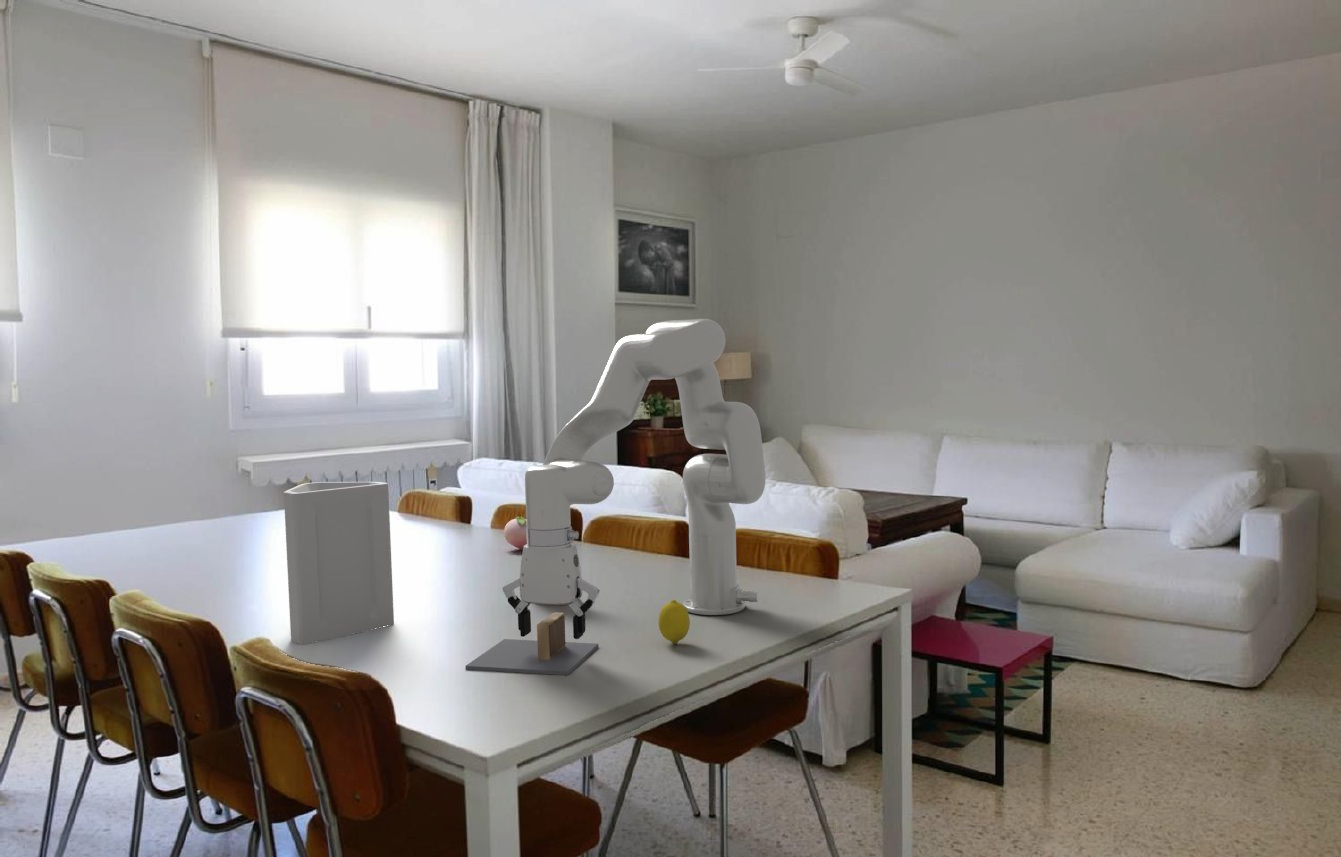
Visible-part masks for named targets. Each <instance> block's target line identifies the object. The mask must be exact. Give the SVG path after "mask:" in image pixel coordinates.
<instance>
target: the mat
mask: <svg viewBox="0 0 1341 857" xmlns="http://www.w3.org/2000/svg"><path fill="white" fill-rule="evenodd" d="M598 648H599V643H595V642H594V643H593V642H577V641H576V642H575V641H574V642H573V641H572V642H571V641H565V647H564V648H563V649H561V650H560V651H559V652H558V653H557V654H556V655H554V656H553V657H552V658H551V659H550V660H542V659H538V642H537V640H534V639H533V640H531V639H529V640H528V639H511V638H510V639H509V638H503V639H502V640H501V641H499V642H498V643H497V644H495V645H493V646H492V647H490V648H489V649H487V650H486V651H485V652H483V653H481V654H480V655H479V656H478V657H476V658H475V659H473V660H472V661H470V662H468V663H467V664H466V665H465V670H468V671H469V670H471V671H486V672H487V671H488V672H490V671H491V672H506V673H522V674H537V675H538V674H539V675H540V674H541V675H554V676H556V675H559V676H569V675H570V674H571V673H572V672H573V671H574V670H575V669H576V668H577V667H579V666H580V664H582V663H583V662H584V661H585V660H586V659H587V658H588V657H589V656H590V655H591V654H592V653H594V652H595V651H596V650H597V649H598Z"/></svg>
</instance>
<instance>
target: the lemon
mask: <svg viewBox="0 0 1341 857" xmlns="http://www.w3.org/2000/svg"><path fill="white" fill-rule="evenodd" d="M690 622H691V621H690V615H689V612H688V611H687V609H686V608H685V606H684V605H683V603H681V602H679V601H677V600H676V599H672V600H671V601H669V602H667V603H665V604H664V605H663V606H662V608H661V609H660V612H659V615H658V630H659V632H660V634H661V635H662V637H663V638H664V639H665V640H667V641H670V643H672V645H677V644H678V642H679V641H681V640H683V639H684V638H685V637H686V636H687V635H688V632H689V631H690V625H691V624H690Z"/></svg>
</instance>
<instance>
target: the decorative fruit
mask: <svg viewBox="0 0 1341 857" xmlns="http://www.w3.org/2000/svg"><path fill="white" fill-rule="evenodd" d="M503 536H504V538H505V540H506V542H507V543H508V544H510V545H511V546H512V547H515V548H516V549H519V551H523V548H524V546H525V545H526V544H527V524H526V518H525V517H523V516H521V513H520V514H519V516H515V518H513V519H510V520H509V521H508V522H507V523H506V525H504V528H503Z"/></svg>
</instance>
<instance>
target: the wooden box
mask: <svg viewBox="0 0 1341 857" xmlns="http://www.w3.org/2000/svg"><path fill="white" fill-rule="evenodd" d="M565 620H566V616H565V613H564V612H552V613H551V614H549V615H548V616H547V617H545V618H544V619H543V620H540V622H538V623H537V624H536V632H537V633H536V634H537V635H536V636H537V638H536V639H537V640H536V641H537V642H538V659H542V660H550V659H551V658H552V657H553V656H554V655H556V654H557V653H558V652H559V651H560V650H561V649H563V648H564V647H565V642H566V621H565Z"/></svg>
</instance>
